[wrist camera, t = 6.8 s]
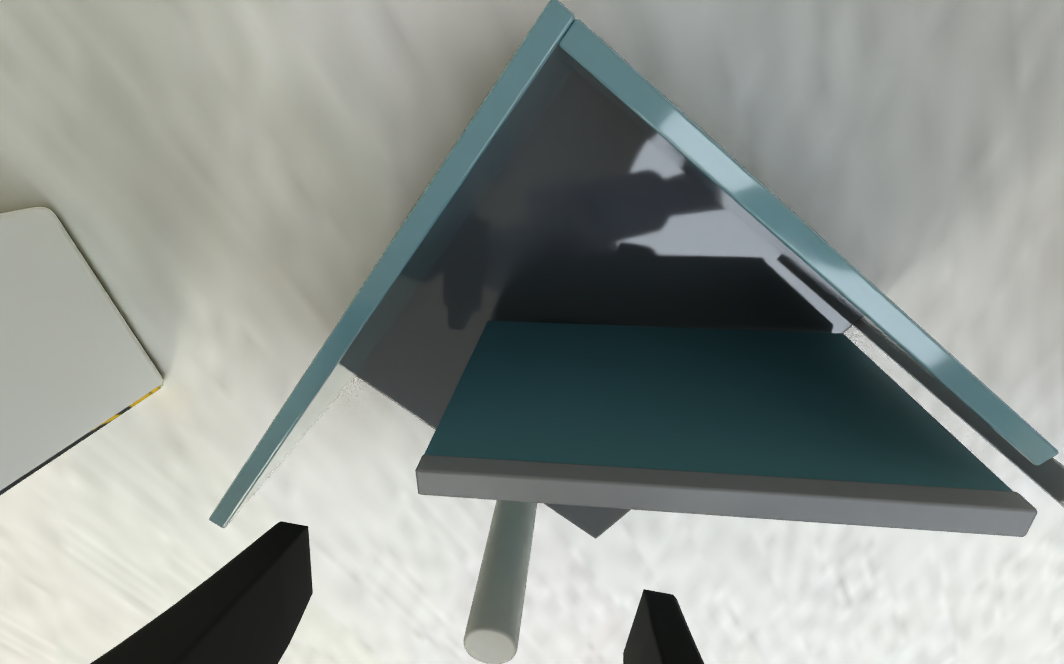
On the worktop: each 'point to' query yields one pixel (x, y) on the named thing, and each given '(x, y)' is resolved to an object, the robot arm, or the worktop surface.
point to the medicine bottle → (58, 347)
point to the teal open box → (601, 256)
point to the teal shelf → (690, 442)
